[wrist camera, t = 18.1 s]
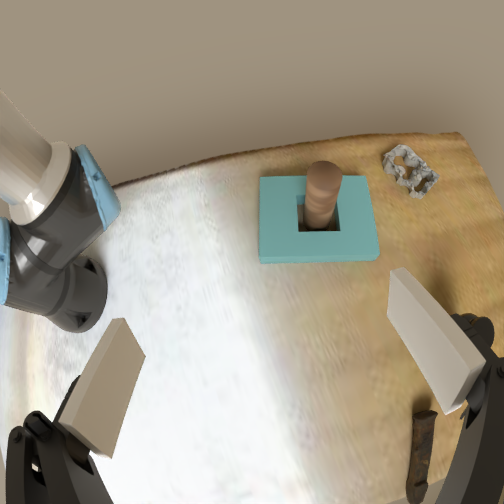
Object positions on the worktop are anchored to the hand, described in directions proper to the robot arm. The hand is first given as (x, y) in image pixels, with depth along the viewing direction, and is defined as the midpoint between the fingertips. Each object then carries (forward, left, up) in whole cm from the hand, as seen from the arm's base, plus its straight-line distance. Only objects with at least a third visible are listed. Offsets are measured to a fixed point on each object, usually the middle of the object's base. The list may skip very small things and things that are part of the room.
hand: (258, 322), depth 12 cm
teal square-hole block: (+6, +19, -28) cm, 34 cm away
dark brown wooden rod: (+24, -23, -28) cm, 43 cm away
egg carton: (+26, +29, -28) cm, 48 cm away
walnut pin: (+6, +19, -28) cm, 34 cm away
